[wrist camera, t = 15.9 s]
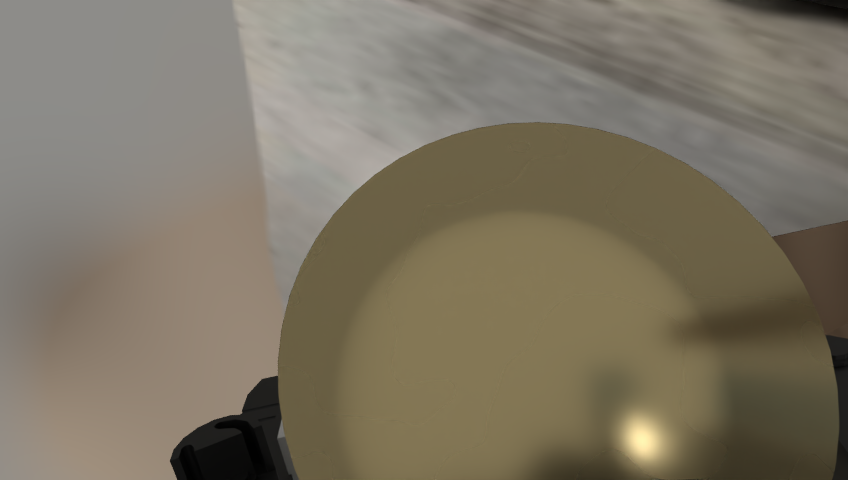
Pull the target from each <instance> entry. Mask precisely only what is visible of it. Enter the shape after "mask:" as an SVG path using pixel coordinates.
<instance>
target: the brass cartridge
mask: <svg viewBox="0 0 848 480" xmlns="http://www.w3.org/2000/svg"><path fill="white" fill-rule="evenodd" d="M278 393H279V403H280V409H281V416H282V423H283V429H284V434H285V438H286V441H287V445H288V448H289V452H290V455H291V459H292V462H293V466H294V469H295V471H296V474H297V476H298V478H299V480H832V478H833V474H834V470H835V466H836V458H837V447H838V437H839V407H838V388H837V382H836V377H835V372H834V367H833V362H832V356H831V351H830V348H829V345H828V342H827V339H826V336H825V333H824V330H823V327H822V324H821V321H820V318H819V315H818V313H817V311H816V309H815V307H814V305H813V302H812V300H811V298H810V296H809V294H808V292H807V290H806V288H805V286H804V284H803V282H802V280H801V279H800V277H799V275H798V274H797V272H796V271H795V269H794V268H793V266H792V264H791V263H790V261H789V260H788V258H787V256H786V255H785V253H784V252H783V251H782V249H781V248H780V247H779V246H778V244H777V243H776V242H775V241H774V239H773V238H772V237H771V236H770V235H769V233H768V232H767V231H766V230H765V228H764V227H763V226H762V225H761V224H760V223H759V222H758V221H757V220H756V219H755V218H754V217H753V216H752V215H751V214H750V213H749V212H748V211H747V210H746V209H745V208H744V207H743V206H742V205H741V204H740V203H739V202H738V201H737V200H736V199H734V198H733V197H732V196H731V195H729V194H728V193H727V192H726V191H724V190H723V189H722V188H721V187H719V186H718V185H717V184H716V183H715V182H713V181H712V180H710V179H709V178H707V177H706V176H704V175H703V174H701V173H700V172H698V171H696V170H695V169H693V168H692V167H690V166H689V165H687V164H686V163H684V162H682V161H680V160H678V159H676V158H674V157H672V156H670V155H668V154H666V153H664V152H662V151H660V150H658V149H656V148H654V147H651V146H648V145H646V144H643V143H641V142H638V141H635V140H633V139H630V138H628V137H624V136H621V135H617V134H613V133H610V132H606V131H602V130H599V129H593V128H587V127H581V126H575V125H569V124H556V123H541V122H534V123H510V124H502V125H495V126H488V127H482V128H477V129H473V130H469V131H465V132H462V133H458V134H454V135H451V136H448V137H445V138H443V139H440V140H437V141H435V142H432V143H429V144H427V145H424V146H423V147H421V148H419V149H417V150H415V151H413V152H411V153H409V154H407V155H405V156H403V157H401V158H399V159H398V160H396V161H395V162H393V163H392V164H390V165H389V166H387V167H386V168H384V169H383V170H381V171H380V172H378V173H377V174H375V175H374V176H373V177H372V178H371V179H369V180H368V181H367V182H366V183H365V184H364V185H362V186H361V187H360V188H359V189H358V190H357V191H355V192H354V193H353V194H352V195H351V196H350V197H349V199H348V200H347V201H346V202H345V203H344V204H343V205H342V206H341V207H340V208H339V209H338V210H337V212H336V213H335V214H334V215H333V216H332V218H331V219H330V220H329V222H328V223H327V224H326V226H325V227H324V229H323V230H322V231H321V233H320V234H319V236H318V237H317V238H316V240H315V242H314V244H313V245H312V247H311V249H310V251H309V253H308V255H307V257H306V258H305V260H304V262H303V264H302V266H301V268H300V271H299V273H298V276H297V278H296V281H295V283H294V286H293V289H292V291H291V294H290V297H289V301H288V305H287V309H286V313H285V317H284V321H283V325H282V330H281V339H280V348H279V357H278Z"/></svg>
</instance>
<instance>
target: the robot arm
mask: <svg viewBox="0 0 848 480" xmlns="http://www.w3.org/2000/svg"><path fill="white" fill-rule="evenodd" d="M825 336H826V339H827V342H828V345H829V348H830V351H831V356H832V362H833V367H834V372H835V377H836V382H837V388H838V407H839V437H838V447H837V458H836V466H835V470H834V474H833V478H832V480H848V339H847V338H842V337H836V336H831V335H825ZM170 462H171V465H172V467H173V470H174V472H175V475H176V477H177V480H299V478H298V476H297V474H296V471H295V469H294V466H293V462H292V459H291V455H290V452H289V448H288V445H287V441H286V438H285V434H284V429H283V423H282V416H281V409H280V403H279V393H278V376H275V377H270V378H265V379H262V380H261V381H260V382H259V383H258V384H257V385H256V386H255V387H254V389H253V390H252V391H251V392H250V393H249V394H248V395H247V398H246V401H245V404H244V407H243V409H242V414H241V415H230V416H227V417H223V418H219V419H216V420H213V421H211V422H209V423H207V424H205V425H203V426H201V427H198V428H197V429H196V430H194V431H193V432H192V433H190V434H189V435H187V436H186V437H185V438H183V439H182V441H181V442H180V443H179V444H178V445H177V446H176V448H175V449H174V450H173V453H172V457H171V459H170Z"/></svg>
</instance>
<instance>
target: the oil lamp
mask: <svg viewBox="0 0 848 480" xmlns="http://www.w3.org/2000/svg"><path fill="white" fill-rule="evenodd" d="M809 1H812V2H816V3H820V4H824V5H828V6H833V7H839V8H846V9H848V0H809Z"/></svg>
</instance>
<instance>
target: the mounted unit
mask: <svg viewBox="0 0 848 480" xmlns="http://www.w3.org/2000/svg"><path fill="white" fill-rule="evenodd" d="M772 238H773V239H774V241H775V242H776V243H777V244H778V246H779V247H780V248H781V249H782V251H783V252H784V253H785V255H786V256H787V258H788V260H789V261H790V263H791V264H792V266H793V268H794V269H795V271H796V272H797V274H798V275H799V277H800V279H801V280H802V282H803V284H804V286H805V288H806V290H807V292H808V294H809V296H810V298H811V300H812V302H813V305H814V307H815V309H816V311H817V313H818V315H819V318H820V321H821V324H822V327H823V330H824V333H825V335H831V336H836V337H842V338H847V339H848V221H844V222H839V223H834V224H830V225H825V226H820V227H816V228H811V229H806V230H802V231H797V232H792V233H788V234H783V235H778V236H774V237H772Z"/></svg>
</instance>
